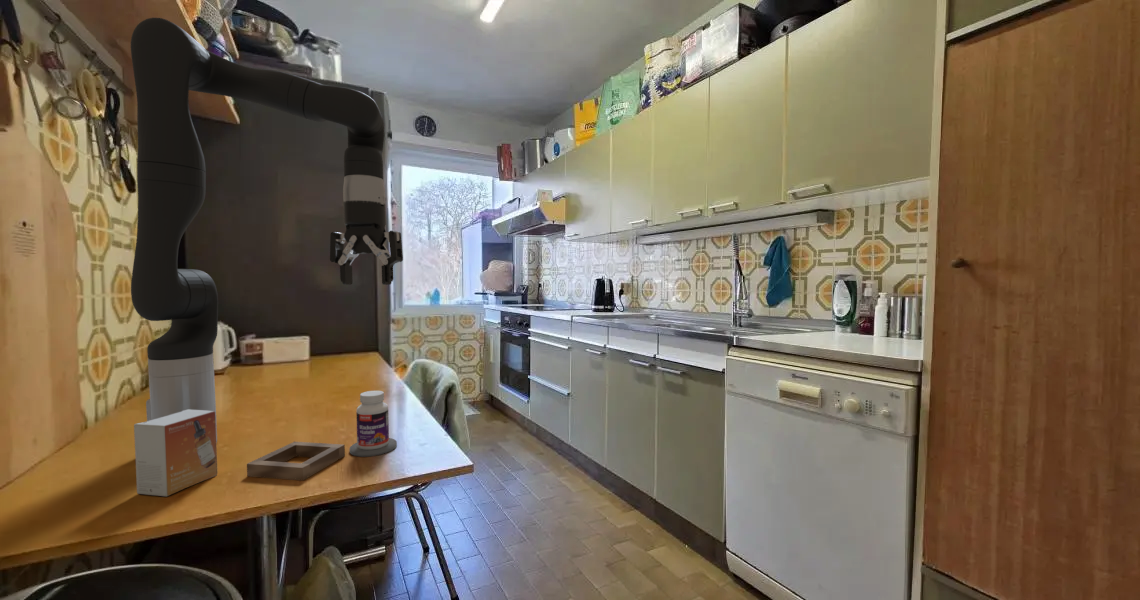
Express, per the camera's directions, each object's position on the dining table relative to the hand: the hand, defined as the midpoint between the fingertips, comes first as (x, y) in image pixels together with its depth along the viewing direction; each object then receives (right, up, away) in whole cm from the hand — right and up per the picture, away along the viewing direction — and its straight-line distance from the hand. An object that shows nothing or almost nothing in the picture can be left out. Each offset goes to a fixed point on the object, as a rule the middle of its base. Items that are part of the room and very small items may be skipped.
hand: (367, 284), depth 91 cm
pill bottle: (+4, -30, -6) cm, 31 cm away
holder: (-5, -31, -14) cm, 34 cm away
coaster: (+4, -30, -6) cm, 31 cm away
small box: (-20, -32, -20) cm, 42 cm away
